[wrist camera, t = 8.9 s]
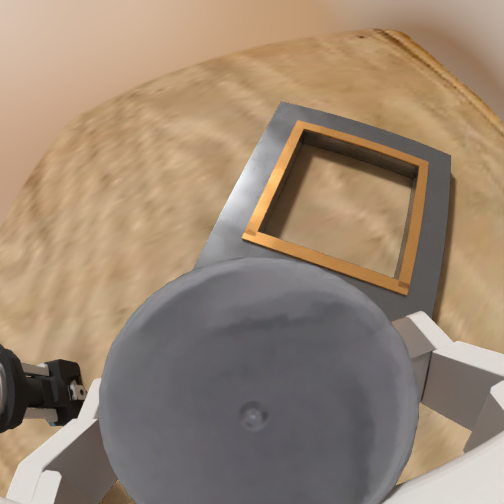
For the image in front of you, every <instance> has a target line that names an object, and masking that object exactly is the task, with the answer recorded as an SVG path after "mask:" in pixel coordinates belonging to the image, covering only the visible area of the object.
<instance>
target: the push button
mask: <svg viewBox="0 0 504 504" xmlns="http://www.w3.org/2000/svg"><path fill="white" fill-rule="evenodd" d="M79 374H80V370H79V365H78V364H77V363H76V362H71V361H66V360H62V359H58V360H54V361H50V362H45V363H41V364H38V365H37V366H35V365H30V364H25V363H21V362H20V360H19V358H18V357H17V356H16V355H15V354H14V353H13V352H12V351H11V350H8V349H5V348H4V347H3V346H2V345H1V344H0V433H3V432H5V431H6V430H8V429H14V428H15V427H17V426H19V425H20V424H21V423H22V421H23V419H40V418H45V419H46V421H47V422H49V424H50V426H63V427H64V426H65V425H66V424H67V423H69V422H70V421H71V420H72V419H77V418H78V416H79V413H80V411H81V408H82V406H83V404H82V400H85V399H86V391H85V387H84V386H83V385H78V380H77V376H78V375H79ZM25 375H26V376H32V377H26V376H25ZM80 389H81V390H82V391H83V396H82V395H81V394H80ZM27 407H28V408H27ZM33 408H39V409H33ZM44 408H46V409H44Z"/></svg>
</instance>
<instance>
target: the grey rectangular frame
mask: <svg viewBox="0 0 504 504" xmlns="http://www.w3.org/2000/svg"><path fill="white" fill-rule="evenodd" d="M302 143H306V144H309V145H313V146H316V147H320V148H323V149H327V150H330V151H334V152H337V153H340V154H343V155H347V156H350V157H353V158H356V159H359V160H362V161H365V162H368V163H371V164H374V165H377V166H380V167H383V168H386V169H389V170H391V171H394V172H397V173H400V174H402V175H405V176H408V177H410V178H413V182H412V189H411V196H410V202H409V208H408V214H407V219H406V225H405V230H404V235H403V240H402V245H401V249H400V254H399V259H398V263H397V267H396V272H395V276H394V278H391V277H389V276H386V275H383V274H380V273H377V272H374V271H372V270H369V269H366V268H363V267H360V266H357V265H355V264H352V263H349V262H346V261H343V260H340V259H337V258H334V257H332V256H329V255H326V254H323V253H320V252H317V251H314V250H311V249H308V248H305V247H302V246H299V245H296V244H293V243H291V242H288V241H285V240H282V239H279V238H276V237H273V236H270V235H267V234H264V233H263V232H264V230H265V227H266V225H267V223H268V221H269V218H270V216H271V214H272V212H273V209H274V207H275V205H276V202H277V200H278V198H279V196H280V193H281V191H282V189H283V187H284V184H285V182H286V180H287V177H288V175H289V173H290V171H291V168H292V166H293V164H294V161H295V159H296V157H297V155H298V152H299V150H300V148H301V146H302ZM450 174H451V155H448V154H446V153H444V152H441V151H439V150H436V149H434V148H432V147H429V146H427V145H424V144H421V143H419V142H416V141H414V140H411V139H408V138H405V137H403V136H400V135H397V134H394V133H391V132H388V131H386V130H383V129H380V128H377V127H373V126H370V125H367V124H364V123H361V122H358V121H354V120H351V119H347V118H344V117H341V116H337V115H333V114H330V113H326V112H322V111H318V110H314V109H311V108H306V107H302V106H298V105H294V104H289V103H285V102H281V103H280V104H279V106H278V108H277V110H276V112H275V113H274V115H273V117H272V119H271V121H270V122H269V124H268V126H267V128H266V130H265V131H264V133H263V135H262V137H261V139H260V140H259V142H258V144H257V146H256V148H255V150H254V152H253V153H252V155H251V157H250V159H249V161H248V163H247V165H246V166H245V168H244V170H243V172H242V174H241V176H240V178H239V180H238V181H237V183H236V185H235V187H234V189H233V191H232V193H231V195H230V197H229V199H228V201H227V203H226V204H225V206H224V208H223V210H222V212H221V214H220V216H219V218H218V220H217V222H216V224H215V226H214V228H213V230H212V232H211V234H210V236H209V238H208V240H207V242H206V244H205V246H204V248H203V250H202V252H201V254H200V256H199V258H198V260H197V262H196V264H195V266H194V268H193V270H195V269H197V268H200V267H203V266H207V265H209V264H212V263H214V262H220V261H225V260H230V259H235V258H242V257H274V258H282V259H289V260H295V261H297V262H304V263H307V264H311V265H314V266H317V267H319V268H321V269H323V270H325V271H327V272H330V273H332V274H334V275H336V276H338V277H340V278H342V279H343V280H345V281H347V282H348V283H350V284H352V285H354V286H356V287H357V288H358V289H360V290H361V291H362V292H364V293H365V294H366V295H367V296H368V297H370V298H371V299H372V300H373V301H374V302H375V303H376V304H377V306H378V307H379V308H380V309H381V310H382V311H383V312H384V313H385V315H386V316H387V317H388V318H389V320H390V321H394V320H397V319H400V318H404V317H405V316H408V315H411V314H414V313H416V312H419V311H422V312H425V313H426V314H427V315H428V316H429V317H430V318H432V314H433V309H434V305H435V300H436V295H437V289H438V284H439V278H440V272H441V266H442V260H443V253H444V245H445V237H446V229H447V219H448V208H449V194H450Z"/></svg>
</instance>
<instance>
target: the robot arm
mask: <svg viewBox="0 0 504 504" xmlns="http://www.w3.org/2000/svg"><path fill="white" fill-rule="evenodd" d="M391 323H392V325H393V326H394V327H395V329H396V330H397V331H398V332H399V334H400V335H401V336H402V338H403V340H404V342H405V345H406V347H407V349H408V352H409V356H410V359H411V362H412V365H413V367H414V370H415V374H416V380H417V385H418V389H419V403H420V402H422V404H424V405H425V406H427V407H429V408H431V409H432V410H434V411H436V412H438V413H440V414H441V415H443V416H445V417H447V418H449V419H450V420H452V421H454V422H456V423H458V424H460V425H461V426H463V427H465V428H467V429H469V430H471V431H472V433H471V435H470V437H469V439H468V441H467V443H466V445H465V447H464V450H463V451H464V452H465V454H463V455H461V456H459V457H458V458H456V459H454V460H452V461H450V462H448V463H446V464H444V465H442V466H440V467H438V468H436V469H434V470H431V471H429V472H427V473H425V474H423V475H420V476H418V477H416V478H413V479H411V480H409V481H406V482H404V483H401V484H399V485H396V486H394V488H393V489H392V490H391V491H390V493H389V494H388V495H387V496H386V498H385V499H384V500H383V501H382V502H381V503H380V504H504V354H501V353H497V352H494V351H490V350H487V349H484V348H480V347H477V346H474V345H470V344H467V343H464V342H460V341H456V342H453V341H452V340H451V339H450V338H449V337H448V336H447V335H446V334H445V333H444V332H443V331H442V330H441V329H440V328H439V327H438V326H437V325H436V323H435V322H434V321H433V320H432V319H431V318H430V317H429V316H428V315H427V314H426V313H425V312H422V311H419V312H416V313H414V314H411V315H408V316H405V317H404V318H400V319H397V320H394V321H391ZM101 379H102V378H96V379H95V380H93V382H92V384H91V387H90V389H89V391H88V394H87V396H86V399H85V401H84V403H83V406H82V408H81V411H80V413H79V416H78V418H77V419H72V420H71V421H70V422H69V423H67V424H66V425H65V426H64V427H63V428H61V429H60V430H59V431H58V432H57V433H55V434H54V435H53V436H52V437H51V438H49V439H48V440H47V441H46V442H45V443H43V444H42V445H41V446H40V447H39V448H37V449H36V450H35V451H34V452H33V453H31V454H30V455H29V456H28V457H26V458H25V459H24V460H23V461H22V462H20V463H19V465H18V467H17V470H16V472H15V475H14V477H13V480H12V482H11V485H10V488H9V490H8V493H7V495H6V498H4V497H1V496H0V504H99V503H100V501H101V500H102V499H103V498H104V496H105V495H106V494H107V492H108V491H109V490H110V489H111V487H112V486H113V485H114V484H115V482H116V481H117V480H118V478H117V476H116V474H115V472H114V470H113V469H112V467H111V464H110V462H109V459H108V456H107V454H106V451H105V449H104V446H103V440H102V436H101V432H100V426H99V387H100V383H101Z"/></svg>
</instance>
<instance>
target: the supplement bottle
mask: <svg viewBox="0 0 504 504" xmlns="http://www.w3.org/2000/svg"><path fill="white" fill-rule="evenodd" d="M418 419H419V389H418V385H417V380H416V374H415V370H414V367H413V365H412V362H411V359H410V356H409V352H408V349H407V347H406V345H405V342H404V340H403V338H402V336H401V335H400V334H399V332H398V331H397V330H396V329H395V327H394V326H393V325H392V323H391V321H390V320H389V318H388V317H387V316H386V315H385V313H384V312H383V311H382V310H381V309H380V308H379V307H378V306H377V304H376V303H375V302H374V301H373V300H372V299H371V298H370V297H368V296H367V295H366V294H365V293H364V292H362V291H361V290H360V289H358V288H357V287H356V286H354V285H352V284H350V283H348V282H347V281H345V280H343V279H342V278H340V277H338V276H336V275H334V274H332V273H330V272H327V271H325V270H323V269H321V268H319V267H317V266H314V265H311V264H307V263H304V262H297V261H295V260H289V259H282V258H274V257H242V258H235V259H230V260H225V261H220V262H214V263H212V264H209V265H207V266H203V267H200V268H197V269H195V270H192V271H190V272H188V273H186V274H183V275H181V276H180V277H178V278H177V279H175V280H173V281H171V282H169V283H167V284H166V285H165V286H164V287H162V288H161V289H160V290H158V291H156V292H155V293H153V294H152V295H151V296H150V297H149V298H148V299H147V300H146V301H145V302H144V303H143V304H142V305H141V306H140V307H139V308H138V309H137V310H136V311H135V312H134V313H133V314H132V316H131V317H130V318H129V319H128V320H127V322H126V324H125V326H124V327H123V329H122V330H121V331H120V333H119V334H118V336H117V337H116V339H115V340H114V342H113V344H112V346H111V348H110V351H109V353H108V356H107V359H106V362H105V366H104V371H103V375H102V379H101V383H100V387H99V426H100V432H101V436H102V440H103V446H104V449H105V451H106V454H107V456H108V459H109V462H110V464H111V467H112V469H113V470H114V472H115V474H116V476H117V478H118V480H119V481H120V483H121V484H122V485H123V487H124V488H125V490H126V492H127V493H128V495H129V496H130V497H131V498H132V500H133V501H134V502H135V503H136V504H380V503H381V502H382V501H383V500H384V499H385V498H386V496H387V495H388V494H389V493H390V491H391V490H392V489H393V488H394V486H395V485H396V483H397V481H398V479H399V477H400V475H401V473H402V471H403V469H404V467H405V466H406V464H407V462H408V460H409V457H410V455H411V452H412V447H413V443H414V438H415V434H416V429H417V424H418Z"/></svg>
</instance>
